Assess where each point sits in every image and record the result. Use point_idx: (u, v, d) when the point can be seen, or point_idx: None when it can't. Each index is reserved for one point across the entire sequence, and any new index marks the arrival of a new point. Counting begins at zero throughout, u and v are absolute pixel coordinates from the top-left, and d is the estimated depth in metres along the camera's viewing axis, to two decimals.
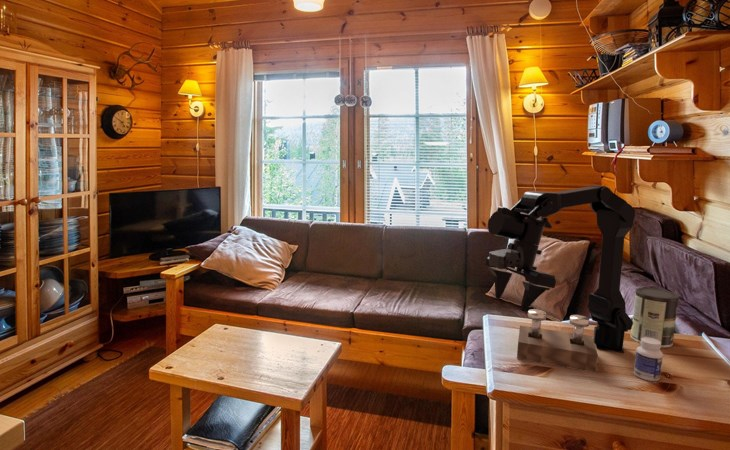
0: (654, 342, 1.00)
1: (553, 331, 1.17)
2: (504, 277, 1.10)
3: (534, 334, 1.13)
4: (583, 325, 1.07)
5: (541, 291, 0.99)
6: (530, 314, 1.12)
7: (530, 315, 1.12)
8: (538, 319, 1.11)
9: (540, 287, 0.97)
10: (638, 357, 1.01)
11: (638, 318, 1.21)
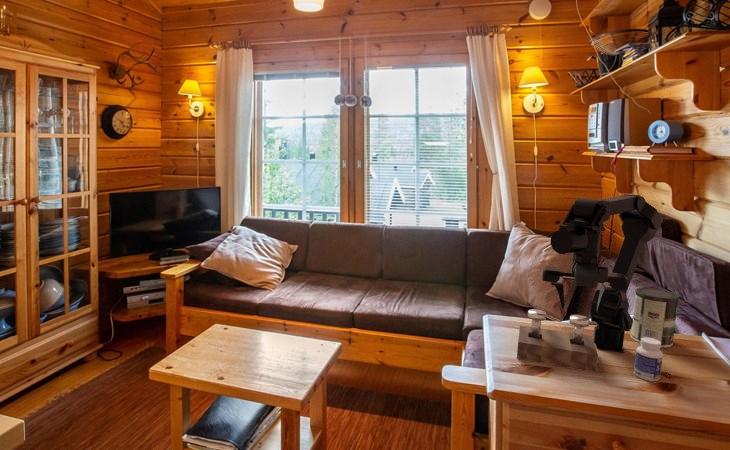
0: (654, 342, 1.00)
1: (553, 331, 1.17)
2: None
3: (534, 334, 1.13)
4: (583, 325, 1.07)
5: None
6: (530, 314, 1.12)
7: (530, 315, 1.12)
8: (538, 319, 1.11)
9: None
10: (638, 357, 1.01)
11: (638, 318, 1.21)
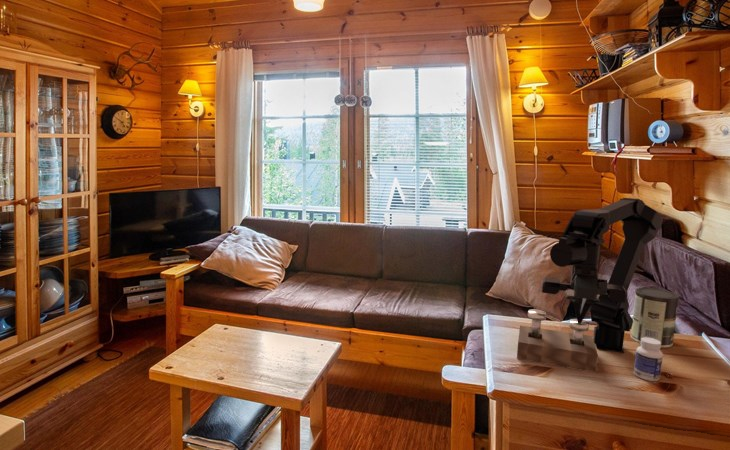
0: (654, 342, 1.00)
1: (553, 331, 1.17)
2: None
3: (534, 334, 1.13)
4: (583, 329, 1.07)
5: None
6: (530, 314, 1.12)
7: (530, 315, 1.12)
8: (538, 319, 1.11)
9: (598, 298, 1.07)
10: (638, 357, 1.01)
11: (638, 318, 1.21)
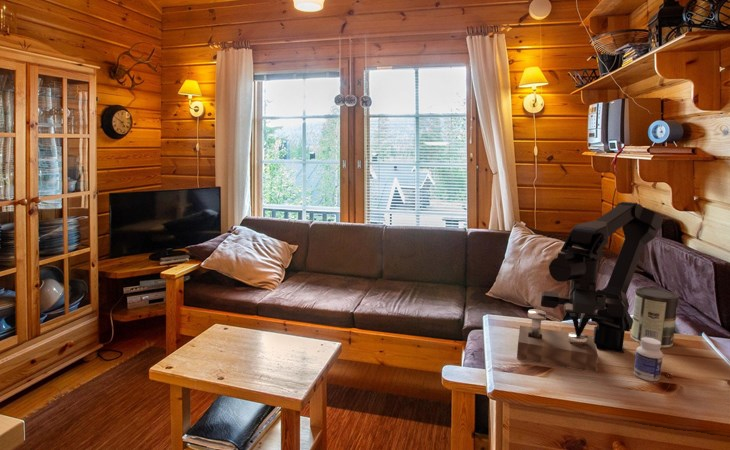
0: (654, 342, 1.00)
1: (553, 331, 1.17)
2: None
3: (534, 334, 1.13)
4: (581, 343, 1.08)
5: None
6: (530, 314, 1.12)
7: (530, 315, 1.12)
8: (538, 319, 1.11)
9: None
10: (638, 357, 1.01)
11: (638, 318, 1.21)
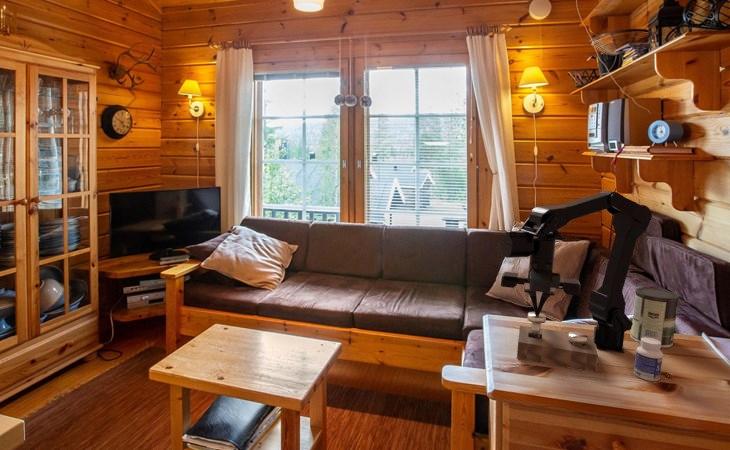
0: (654, 342, 1.00)
1: (553, 331, 1.17)
2: (536, 293, 1.13)
3: (534, 337, 1.13)
4: (581, 343, 1.08)
5: None
6: (530, 317, 1.12)
7: (530, 318, 1.12)
8: (538, 322, 1.11)
9: None
10: (638, 357, 1.01)
11: (638, 318, 1.21)
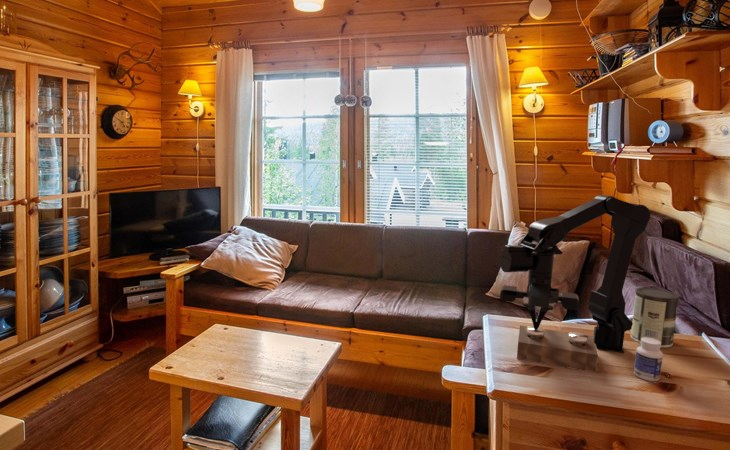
0: (654, 342, 1.00)
1: (553, 331, 1.17)
2: None
3: None
4: (581, 343, 1.08)
5: None
6: (529, 331, 1.12)
7: (529, 332, 1.12)
8: (537, 336, 1.11)
9: None
10: (638, 357, 1.01)
11: (638, 318, 1.21)
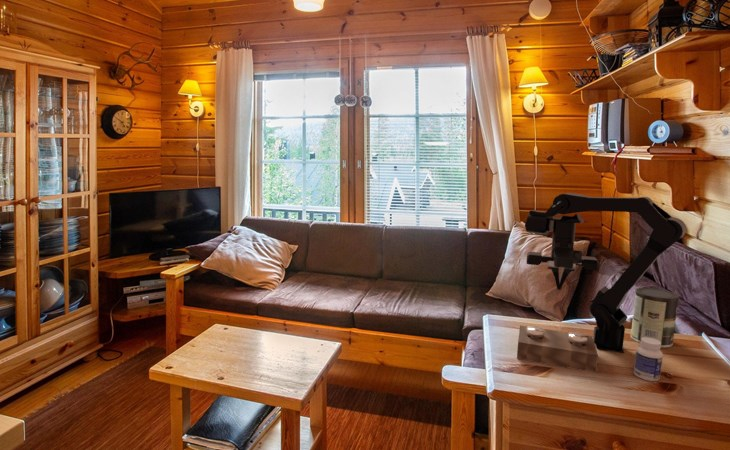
0: (654, 342, 1.00)
1: (553, 331, 1.17)
2: None
3: None
4: (581, 343, 1.08)
5: None
6: (529, 331, 1.12)
7: (529, 332, 1.12)
8: (537, 336, 1.11)
9: None
10: (638, 357, 1.01)
11: (638, 318, 1.21)
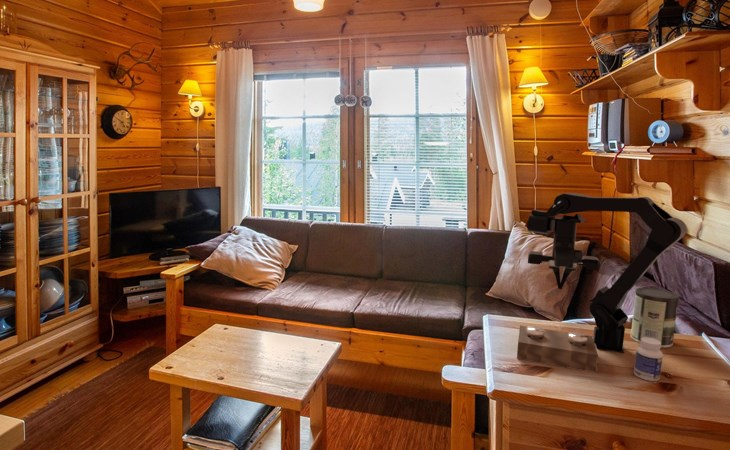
0: (654, 342, 1.00)
1: (553, 331, 1.17)
2: None
3: None
4: (581, 343, 1.08)
5: None
6: (529, 331, 1.12)
7: (529, 332, 1.12)
8: (537, 336, 1.11)
9: None
10: (638, 357, 1.01)
11: (638, 318, 1.21)
